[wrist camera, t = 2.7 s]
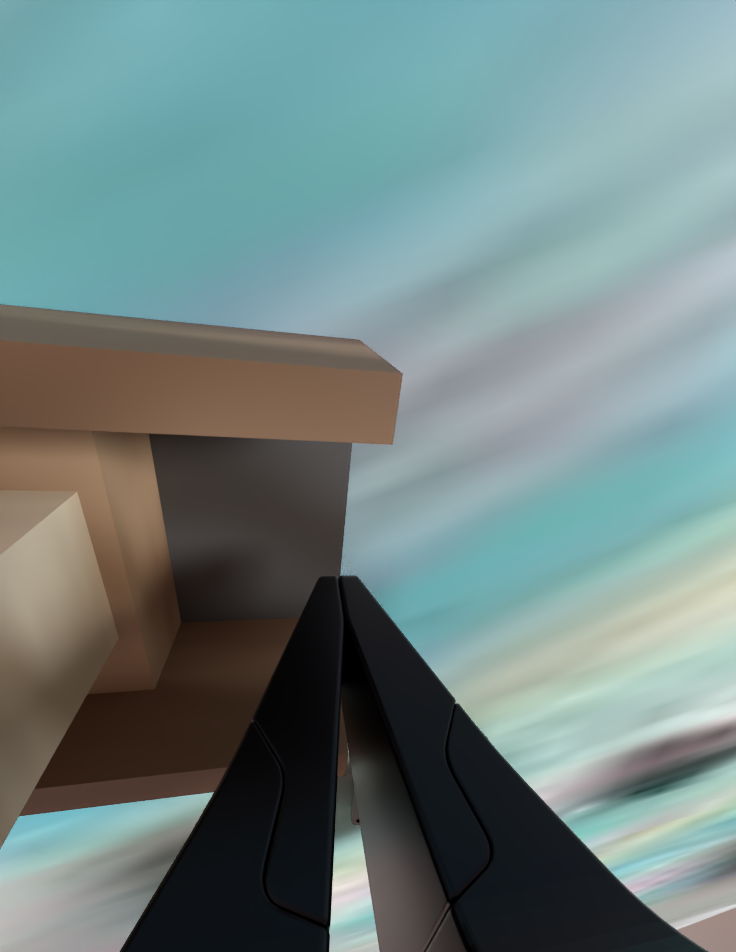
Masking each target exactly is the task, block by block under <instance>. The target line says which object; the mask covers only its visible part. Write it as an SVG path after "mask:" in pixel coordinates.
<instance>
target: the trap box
mask: <svg viewBox="0 0 736 952" xmlns="http://www.w3.org/2000/svg"><path fill="white" fill-rule="evenodd" d="M402 375H403V374H402V373H401V372H400V371H398V370H397V369H396V368H395V367H393V366H392V365H391V364H390V363H388V362H387V361H386V360H384V359H383V358H382V357H381V356H379V355H378V354H377V353H376V352H374V351H373V350H372V349H370V348H369V347H368V346H367V345H365V344H364V343H363V342H361V341H360V340H355V339H345V338H335V337H325V336H314V335H304V334H294V333H284V332H274V331H264V330H254V329H244V328H234V327H223V326H213V325H203V324H193V323H183V322H173V321H163V320H153V319H142V318H132V317H122V316H112V315H102V314H92V313H82V312H72V311H61V310H51V309H41V308H31V307H21V306H11V305H1V304H0V490H12V491H67V492H77V493H78V496H79V500H80V503H81V507H82V510H83V514H84V517H85V521H86V524H87V528H88V531H89V535H90V538H91V542H92V545H93V549H94V552H95V556H96V559H97V563H98V566H99V570H100V573H101V577H102V580H103V584H104V587H105V591H106V594H107V598H108V601H109V605H110V608H111V612H112V615H113V619H114V622H115V626H116V629H117V633H118V636H119V639H118V641H117V642H116V644H115V646H114V648H113V649H112V651H111V653H110V655H109V657H108V658H107V660H106V662H105V664H104V665H103V667H102V669H101V671H100V673H99V674H98V676H97V678H96V680H95V681H94V683H93V685H92V687H91V689H90V690H89V692H88V694H87V696H86V697H85V699H84V701H83V703H82V705H81V706H80V708H79V710H78V712H77V713H76V715H75V717H74V719H73V721H72V722H71V724H70V726H69V728H68V729H67V731H66V733H65V735H64V737H63V738H62V740H61V742H60V744H59V745H58V747H57V749H56V751H55V753H54V754H53V756H52V758H51V760H50V761H49V763H48V765H47V767H46V769H45V770H44V772H43V774H42V776H41V777H40V779H39V781H38V783H37V785H36V786H35V788H34V790H33V792H32V793H31V795H30V797H29V799H28V801H27V802H26V804H25V806H24V808H23V809H22V811H21V813H20V815H19V816H24V815H32V814H40V813H48V812H56V811H65V810H73V809H81V808H89V807H97V806H105V805H113V804H121V803H129V802H137V801H145V800H153V799H161V798H169V797H177V796H185V795H193V794H201V793H209V792H215V790H216V788H217V787H218V785H219V783H220V781H221V779H222V777H223V775H224V773H225V771H226V769H227V767H228V765H229V763H230V761H231V759H232V757H233V755H234V753H235V751H236V749H237V748H238V745H239V743H240V741H241V739H242V737H243V735H244V733H245V731H246V729H247V727H248V724H249V723H250V722H252V717H253V715H254V712H255V710H256V708H257V706H258V704H259V702H260V700H261V698H262V696H263V694H264V691H265V689H266V687H267V685H268V683H269V681H270V679H271V677H272V675H273V672H274V670H275V668H276V666H277V664H278V662H279V660H280V658H281V656H282V654H283V651H284V649H285V647H286V645H287V643H288V641H289V639H290V637H291V635H292V633H293V630H294V628H295V626H296V624H297V622H298V620H299V618H300V616H301V614H302V611H303V609H304V607H305V605H306V603H307V601H308V599H309V597H310V595H311V593H312V590H313V588H314V586H315V584H316V582H317V580H318V578H319V577H321V576H336V577H337V578H339V577H340V570H341V559H342V547H343V536H344V525H345V514H346V503H347V492H348V481H349V470H350V459H351V448H352V443H370V444H392V445H393V438H394V431H395V424H396V417H397V410H398V403H399V396H400V389H401V382H402ZM347 759H348V745H347V737H346V731H345V724H344V718H343V711H342V705H341V709H340V730H339V751H338V772H337V777H338V776H345V773H346V766H347Z"/></svg>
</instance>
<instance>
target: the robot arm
mask: <svg viewBox="0 0 736 952" xmlns="http://www.w3.org/2000/svg"><path fill="white" fill-rule="evenodd" d="M455 702H456V701H455V699H454V697H453V696H452V695H451V694H450V692H449V691H448V690H447V688H446V687H445V686H444V685H443V683H442V682H441V681H440V680H439V678H438V677H437V676H436V675H435V673H434V672H433V671H432V670H431V668H430V667H429V666H428V665H427V663H426V662H425V661H424V660H423V658H422V657H421V656H420V655H419V653H418V652H417V651H416V649H415V648H414V647H413V646H412V644H411V643H410V642H409V641H408V639H407V638H406V637H405V636H404V634H403V633H402V632H401V631H400V629H399V628H398V627H397V626H396V624H395V623H394V622H393V621H392V619H391V618H390V617H389V615H388V614H387V613H386V612H385V610H384V609H383V608H382V607H381V605H380V604H379V603H378V602H377V600H376V599H375V598H374V597H373V595H372V594H371V593H370V592H369V590H368V589H367V588H366V587H365V585H364V584H363V583H362V582H361V580H360V579H359V578H358V577H357V576H340V577H339V578H337V577H336V576H321V577H319V578H318V580H317V582H316V584H315V586H314V588H313V590H312V593H311V595H310V597H309V599H308V601H307V603H306V605H305V607H304V609H303V611H302V614H301V616H300V618H299V620H298V622H297V624H296V626H295V628H294V630H293V633H292V635H291V637H290V639H289V641H288V643H287V645H286V647H285V649H284V651H283V654H282V656H281V658H280V660H279V662H278V664H277V666H276V668H275V670H274V672H273V675H272V677H271V679H270V681H269V683H268V685H267V687H266V689H265V691H264V694H263V696H262V698H261V700H260V702H259V704H258V706H257V708H256V710H255V712H254V715H253V717H252V722H250V723H249V724H248V727H247V729H246V731H245V733H244V735H243V737H242V739H241V741H240V743H239V745H238V748H237V749H236V751H235V753H234V755H233V757H232V759H231V761H230V763H229V765H228V767H227V769H226V771H225V773H224V775H223V777H222V779H221V781H220V783H219V785H218V787H217V788H216V790H215V792H214V794H213V795H212V797H211V799H210V801H209V802H208V804H207V806H206V808H205V809H204V811H203V813H202V815H201V816H200V818H199V820H198V822H197V823H196V825H195V827H194V829H193V830H192V832H191V834H190V835H189V837H188V839H187V840H186V842H185V844H184V845H183V847H182V849H181V850H180V852H179V854H178V855H177V857H176V859H175V860H174V862H173V864H172V865H171V867H170V869H169V870H168V872H167V874H166V875H165V877H164V879H163V880H162V882H161V884H160V885H159V887H158V889H157V890H156V892H155V894H154V895H153V897H152V899H151V900H150V902H149V904H148V905H147V907H146V909H145V910H144V912H143V914H142V915H141V917H140V919H139V920H138V922H137V924H136V925H135V927H134V928H133V930H132V932H131V933H130V935H129V937H128V938H127V940H126V942H125V943H124V945H123V947H122V948H121V950H120V952H329V941H330V935H329V928H330V920H331V898H332V877H333V856H334V835H335V814H336V793H337V772H338V751H339V730H340V709H341V705H342V711H343V718H344V724H345V731H346V737H347V743H348V750H349V756H350V763H351V769H352V776H353V782H354V789H355V790H354V796H353V801H352V807H351V822H352V824H354V825H360V827H361V834H362V840H363V847H364V853H365V860H366V866H367V872H368V879H369V885H370V892H371V898H372V905H373V911H374V918H375V924H376V930H377V937H378V943H379V950H380V952H708V951H707V950H705V949H704V948H702V947H700V946H699V945H697V944H696V943H694V942H693V941H691V940H690V939H689V938H687V937H686V936H684V935H683V934H681V933H680V932H679V931H677V930H676V929H675V928H673V927H672V926H671V925H669V924H668V923H667V922H665V921H664V920H663V919H662V918H660V917H659V916H658V915H657V914H656V913H654V912H653V911H652V910H651V909H650V908H648V907H647V906H646V905H645V904H644V903H643V902H642V901H640V900H639V899H638V898H637V897H636V896H635V895H634V894H633V893H632V892H631V891H630V890H628V889H627V888H626V887H625V886H624V885H623V884H622V883H621V882H620V881H619V880H618V879H617V878H616V877H615V876H614V875H613V874H612V873H611V872H610V871H609V869H608V868H607V867H606V866H605V865H604V864H603V863H602V862H601V861H600V860H599V859H598V858H597V857H596V856H595V855H594V854H593V853H592V852H591V850H590V849H589V848H588V847H587V846H586V845H585V844H584V843H583V842H582V841H581V840H580V839H579V838H578V837H577V836H576V835H575V834H574V833H573V831H572V830H571V829H570V828H569V827H568V826H567V825H566V824H565V823H564V822H563V821H562V820H561V819H560V818H559V817H558V816H557V815H556V814H555V812H554V811H553V810H552V809H551V808H550V807H549V806H548V805H547V804H546V803H545V802H544V801H543V800H542V799H541V798H540V797H539V796H538V795H537V793H536V792H535V791H534V790H533V789H532V788H531V787H530V786H529V785H528V784H527V783H526V782H525V781H524V780H523V779H522V777H521V776H520V775H519V774H518V773H517V772H516V771H515V770H514V769H513V768H512V766H511V765H510V764H509V763H508V762H507V761H506V760H505V759H504V758H503V757H502V755H501V754H500V753H499V752H498V751H497V750H496V749H495V747H494V746H493V745H492V744H491V743H490V741H489V740H488V738H487V737H486V736H485V735H484V734H483V733H482V732H481V731H480V729H479V728H478V727H477V726H476V725H475V723H474V722H473V721H472V720H471V719H470V717H469V716H468V715H467V713H466V712H465V711H464V710H463V708H462V707H461V706H460V705H459V704H458V703H457V704H455Z"/></svg>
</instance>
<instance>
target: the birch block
mask: <svg viewBox="0 0 736 952" xmlns="http://www.w3.org/2000/svg"><path fill="white" fill-rule="evenodd" d="M118 639H119V636H118V633H117V629H116V626H115V622H114V619H113V615H112V612H111V608H110V605H109V601H108V598H107V594H106V591H105V587H104V584H103V580H102V577H101V573H100V570H99V566H98V563H97V559H96V556H95V552H94V549H93V545H92V542H91V538H90V535H89V531H88V528H87V524H86V521H85V517H84V514H83V510H82V507H81V503H80V500H79V496H78V493H77V492H67V491H12V490H0V849H1V847H2V845H3V843H4V841H5V840H6V838H7V836H8V834H9V833H10V831H11V829H12V827H13V825H14V824H15V822H16V820H17V818H18V817H19V815H20V813H21V811H22V809H23V808H24V806H25V804H26V802H27V801H28V799H29V797H30V795H31V793H32V792H33V790H34V788H35V786H36V785H37V783H38V781H39V779H40V777H41V776H42V774H43V772H44V770H45V769H46V767H47V765H48V763H49V761H50V760H51V758H52V756H53V754H54V753H55V751H56V749H57V747H58V745H59V744H60V742H61V740H62V738H63V737H64V735H65V733H66V731H67V729H68V728H69V726H70V724H71V722H72V721H73V719H74V717H75V715H76V713H77V712H78V710H79V708H80V706H81V705H82V703H83V701H84V699H85V697H86V696H87V694H88V692H89V690H90V689H91V687H92V685H93V683H94V681H95V680H96V678H97V676H98V674H99V673H100V671H101V669H102V667H103V665H104V664H105V662H106V660H107V658H108V657H109V655H110V653H111V651H112V649H113V648H114V646H115V644H116V642H117V641H118Z"/></svg>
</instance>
